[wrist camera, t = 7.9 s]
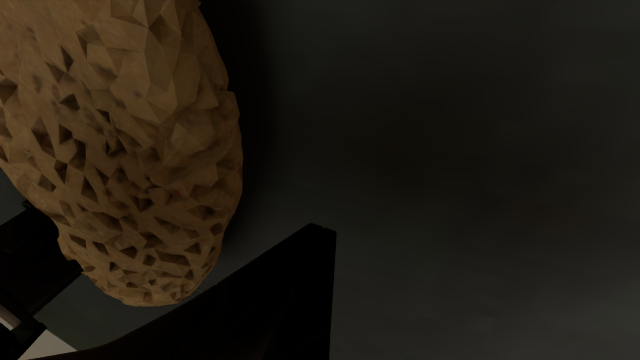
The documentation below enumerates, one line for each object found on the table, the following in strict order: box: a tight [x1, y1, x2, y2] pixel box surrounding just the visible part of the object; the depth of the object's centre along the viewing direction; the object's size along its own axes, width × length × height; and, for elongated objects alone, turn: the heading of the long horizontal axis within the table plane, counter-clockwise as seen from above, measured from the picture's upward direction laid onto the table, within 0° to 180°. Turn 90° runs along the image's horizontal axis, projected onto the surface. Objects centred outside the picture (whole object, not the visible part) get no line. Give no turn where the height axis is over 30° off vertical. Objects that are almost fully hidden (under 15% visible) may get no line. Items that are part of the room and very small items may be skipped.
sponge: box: [0, 0, 243, 307], centre depth 14 cm, size 13×8×20 cm
